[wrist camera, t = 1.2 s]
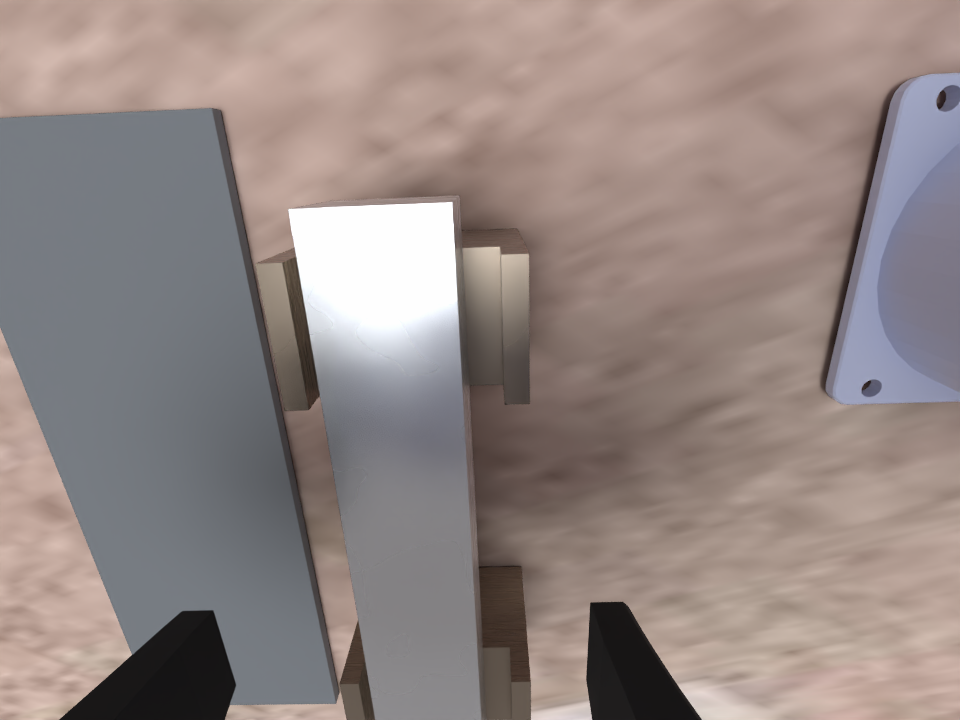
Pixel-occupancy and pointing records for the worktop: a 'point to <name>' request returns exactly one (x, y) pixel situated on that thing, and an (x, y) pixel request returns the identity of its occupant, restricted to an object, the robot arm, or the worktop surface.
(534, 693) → the worktop surface
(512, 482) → the worktop surface
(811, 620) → the worktop surface
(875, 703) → the worktop surface
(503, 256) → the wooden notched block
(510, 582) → the post
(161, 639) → the robot arm
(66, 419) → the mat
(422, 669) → the rail
